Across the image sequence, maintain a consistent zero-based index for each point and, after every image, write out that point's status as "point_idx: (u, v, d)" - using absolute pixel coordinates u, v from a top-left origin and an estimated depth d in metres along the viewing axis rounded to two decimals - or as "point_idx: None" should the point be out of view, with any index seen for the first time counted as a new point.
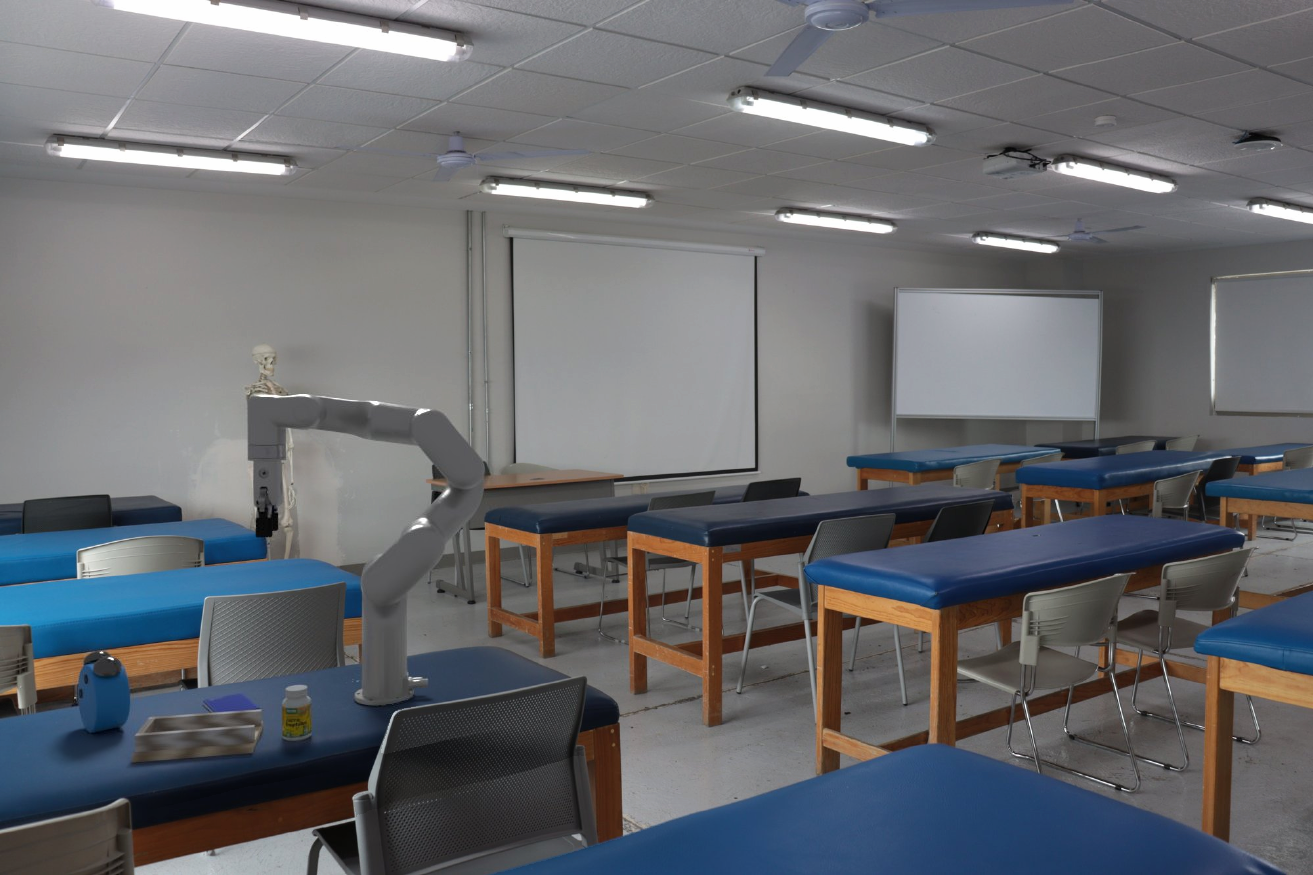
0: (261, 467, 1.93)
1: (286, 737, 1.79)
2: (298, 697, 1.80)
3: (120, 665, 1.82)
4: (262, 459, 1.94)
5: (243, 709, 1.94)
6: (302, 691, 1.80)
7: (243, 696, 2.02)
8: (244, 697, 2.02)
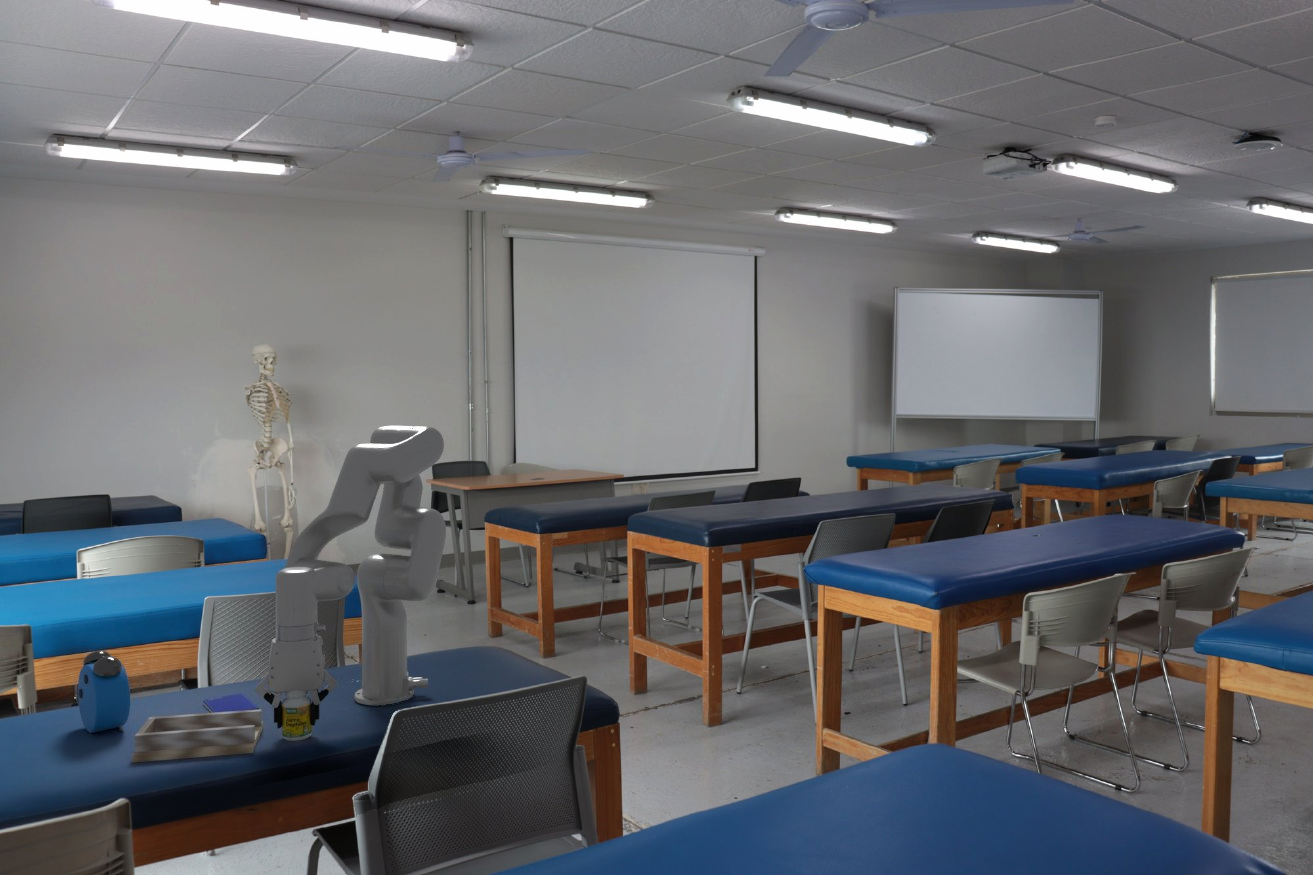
0: (321, 644, 1.82)
1: (286, 737, 1.79)
2: (298, 697, 1.80)
3: (120, 665, 1.82)
4: (316, 636, 1.81)
5: (242, 709, 1.94)
6: (302, 691, 1.80)
7: (243, 696, 2.03)
8: (244, 697, 2.02)
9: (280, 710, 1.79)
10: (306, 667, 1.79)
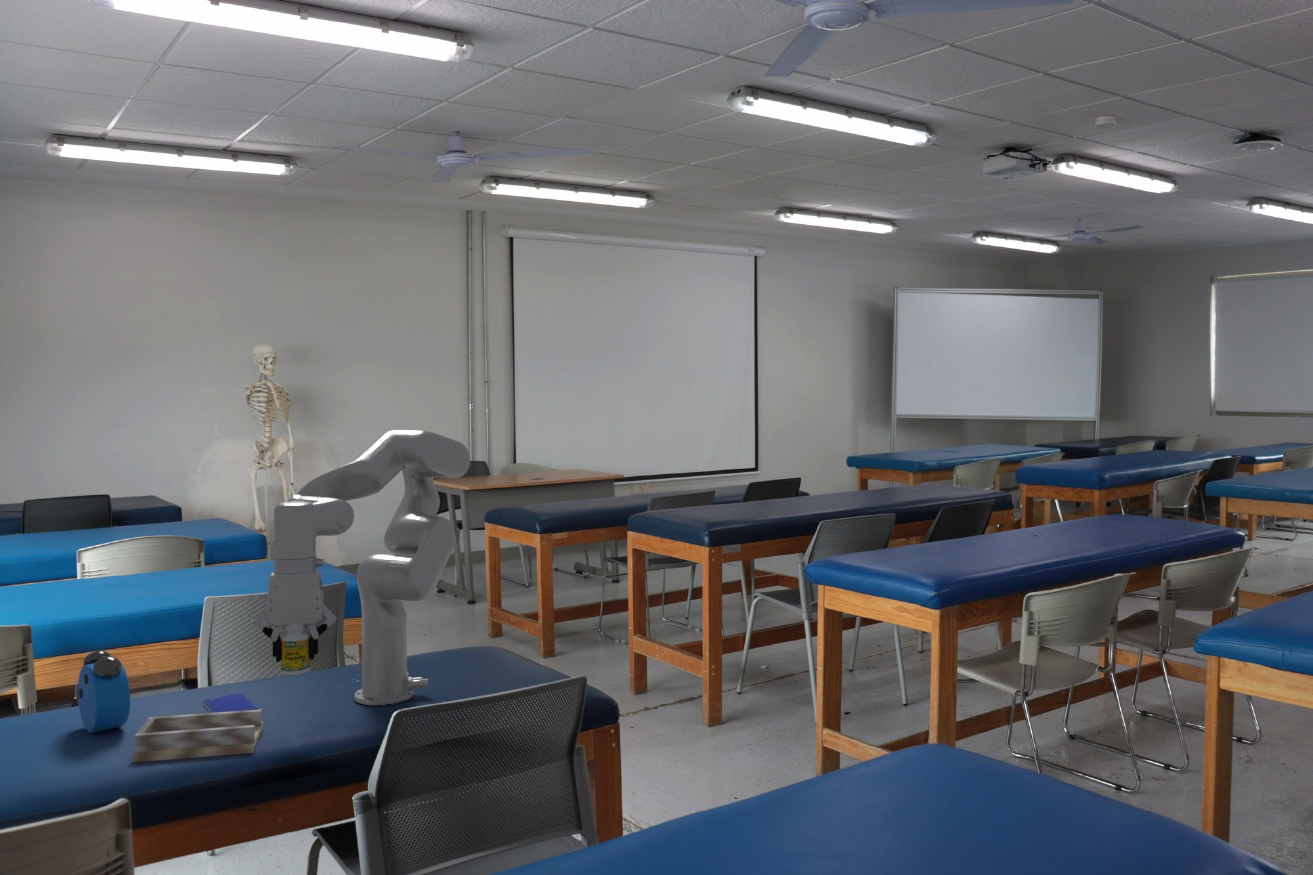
0: (320, 579, 1.81)
1: (285, 671, 1.79)
2: (297, 631, 1.79)
3: (120, 665, 1.82)
4: (314, 571, 1.81)
5: (241, 709, 1.94)
6: (301, 625, 1.79)
7: (243, 696, 2.03)
8: (244, 697, 2.02)
9: (279, 644, 1.79)
10: (305, 601, 1.79)
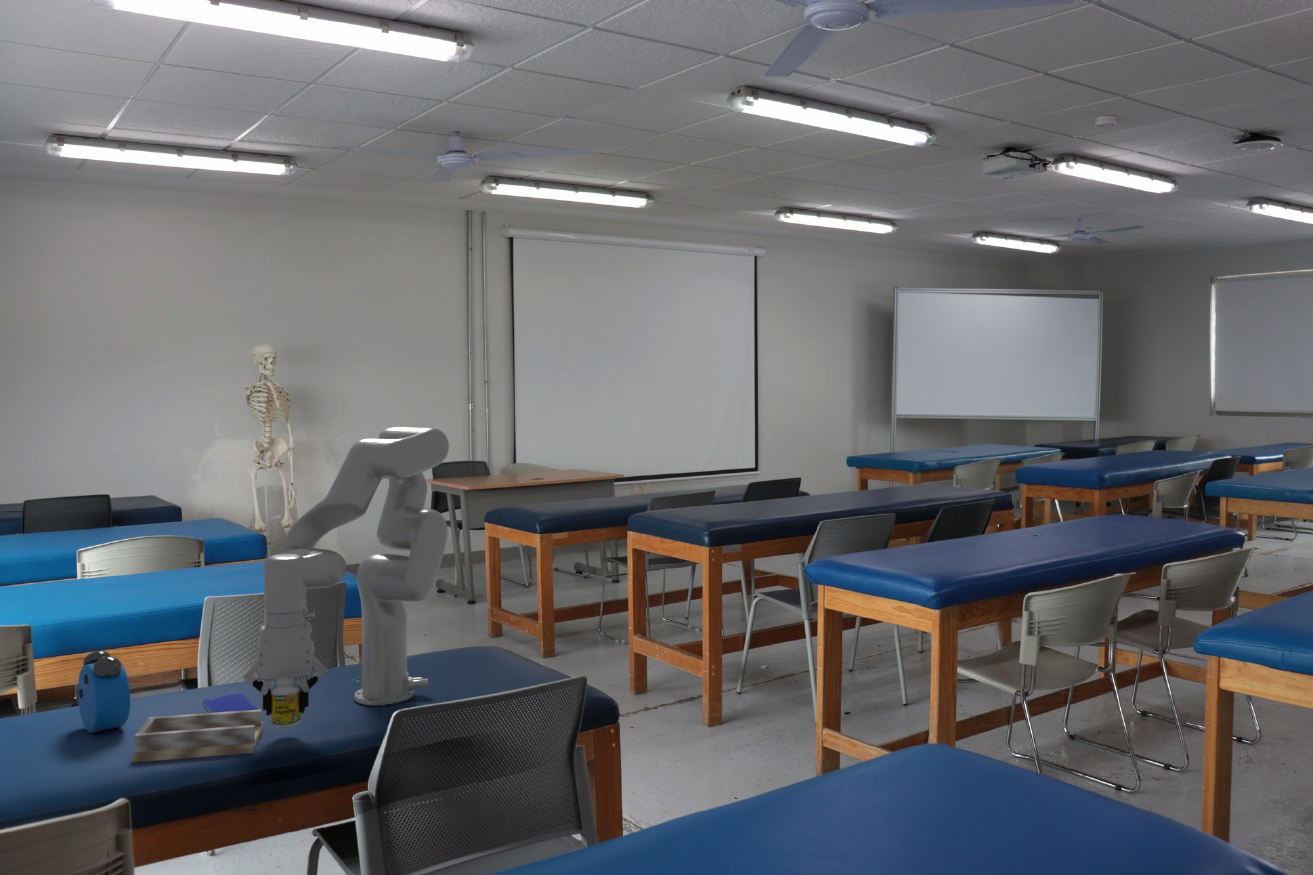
0: (310, 632, 1.81)
1: (275, 724, 1.78)
2: (287, 684, 1.79)
3: (120, 665, 1.82)
4: None
5: (240, 709, 1.94)
6: (291, 678, 1.79)
7: (243, 696, 2.03)
8: (243, 697, 2.02)
9: (269, 697, 1.79)
10: (295, 654, 1.79)
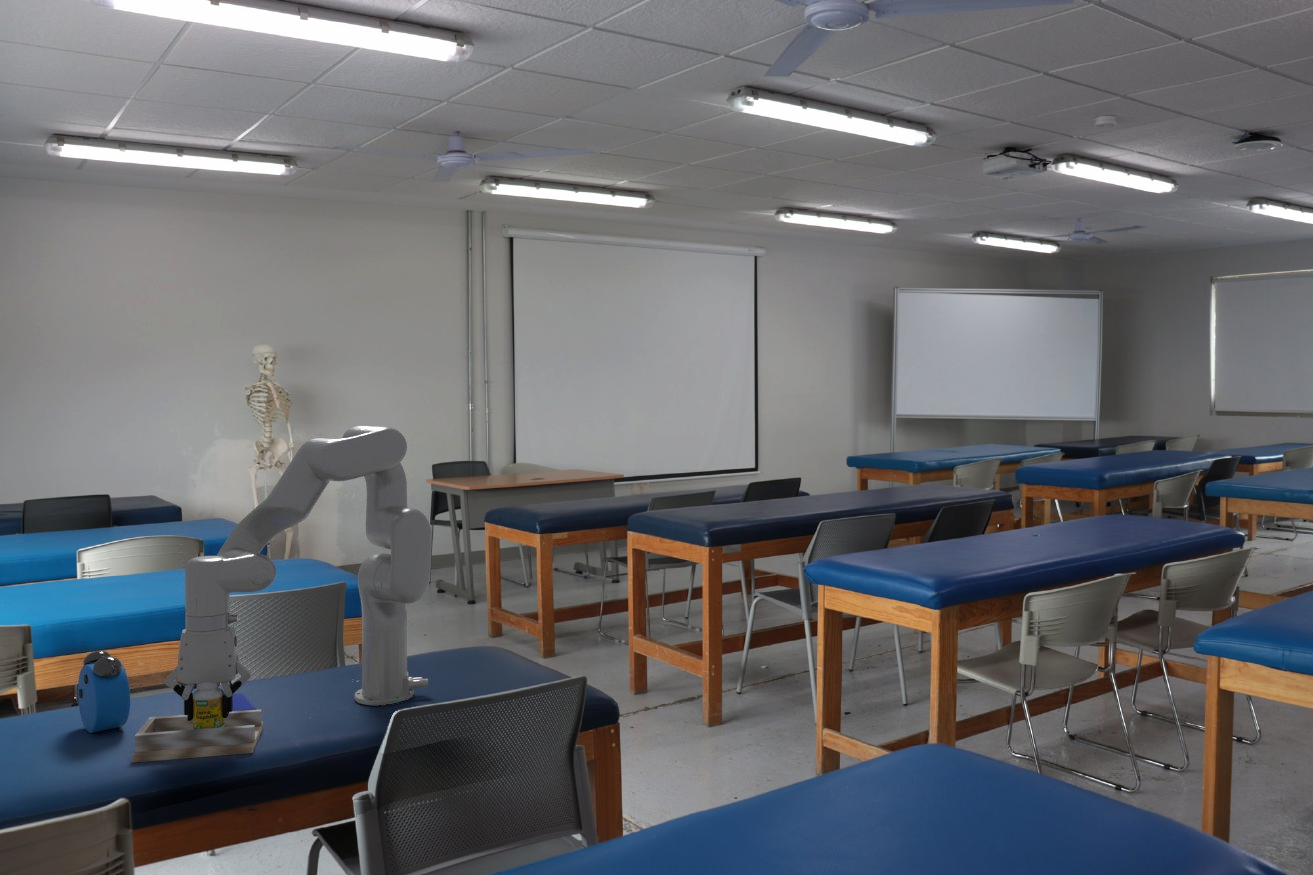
0: (233, 635, 1.77)
1: None
2: (209, 689, 1.75)
3: (120, 665, 1.82)
4: (228, 627, 1.77)
5: (239, 709, 1.94)
6: (213, 683, 1.76)
7: (242, 696, 2.03)
8: (243, 697, 2.02)
9: (190, 702, 1.75)
10: (217, 658, 1.75)
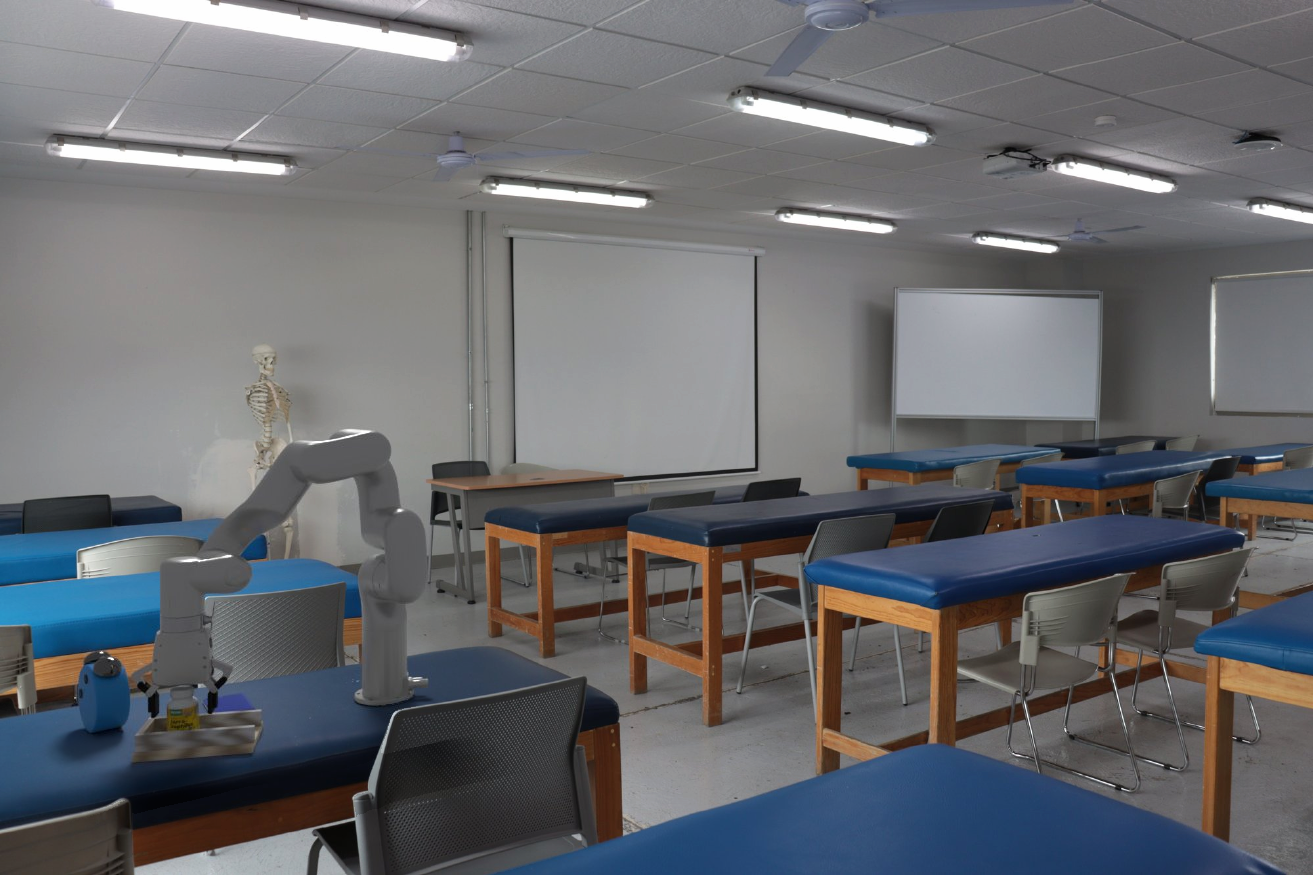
0: (209, 636, 1.76)
1: None
2: (183, 698, 1.74)
3: (120, 665, 1.82)
4: (203, 628, 1.76)
5: (238, 709, 1.94)
6: (187, 692, 1.75)
7: (242, 696, 2.03)
8: (243, 697, 2.02)
9: (154, 699, 1.73)
10: (191, 660, 1.74)
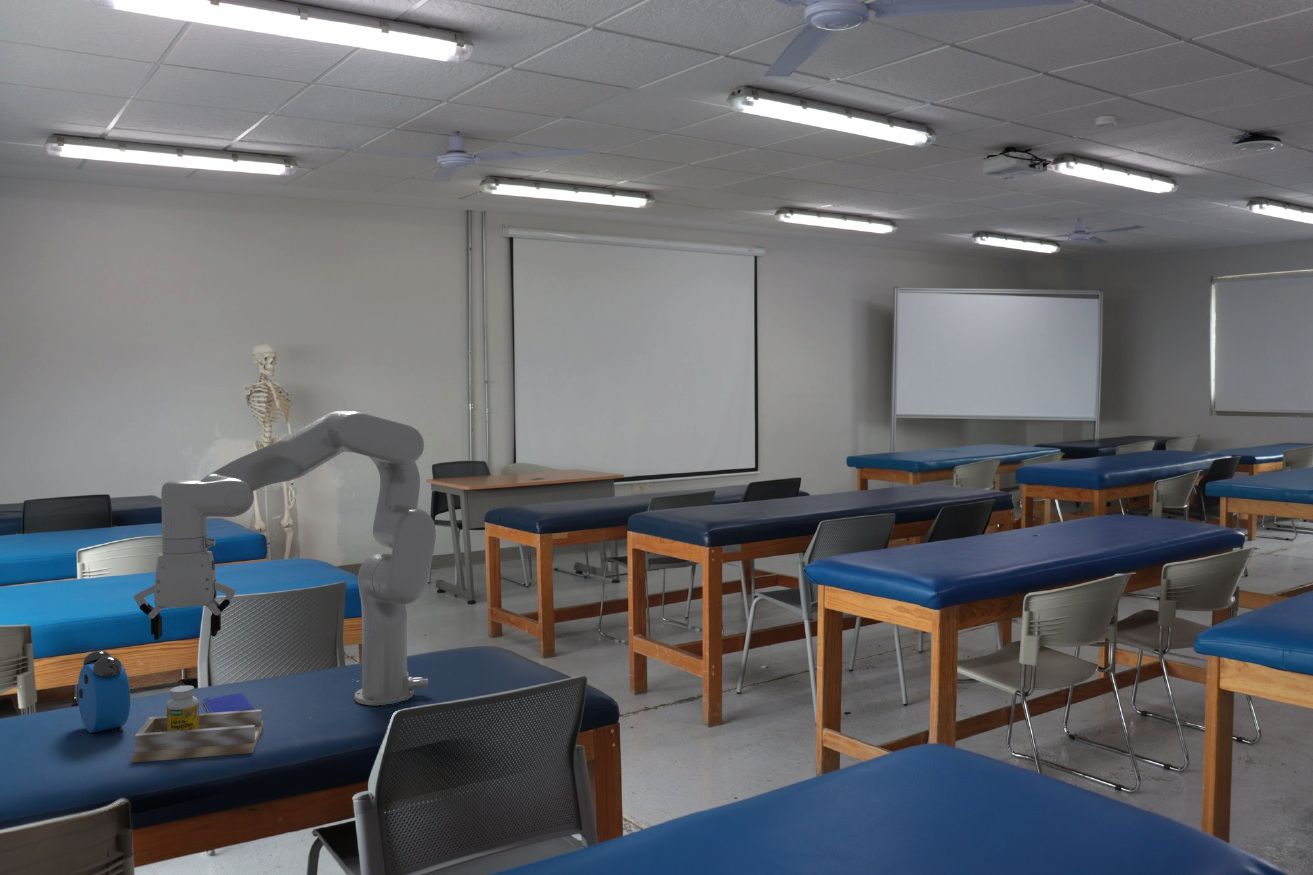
0: (211, 559, 1.76)
1: None
2: (183, 698, 1.74)
3: (120, 665, 1.82)
4: (205, 551, 1.76)
5: (237, 709, 1.94)
6: (188, 692, 1.75)
7: (242, 696, 2.03)
8: (243, 697, 2.02)
9: (157, 621, 1.74)
10: (194, 581, 1.74)
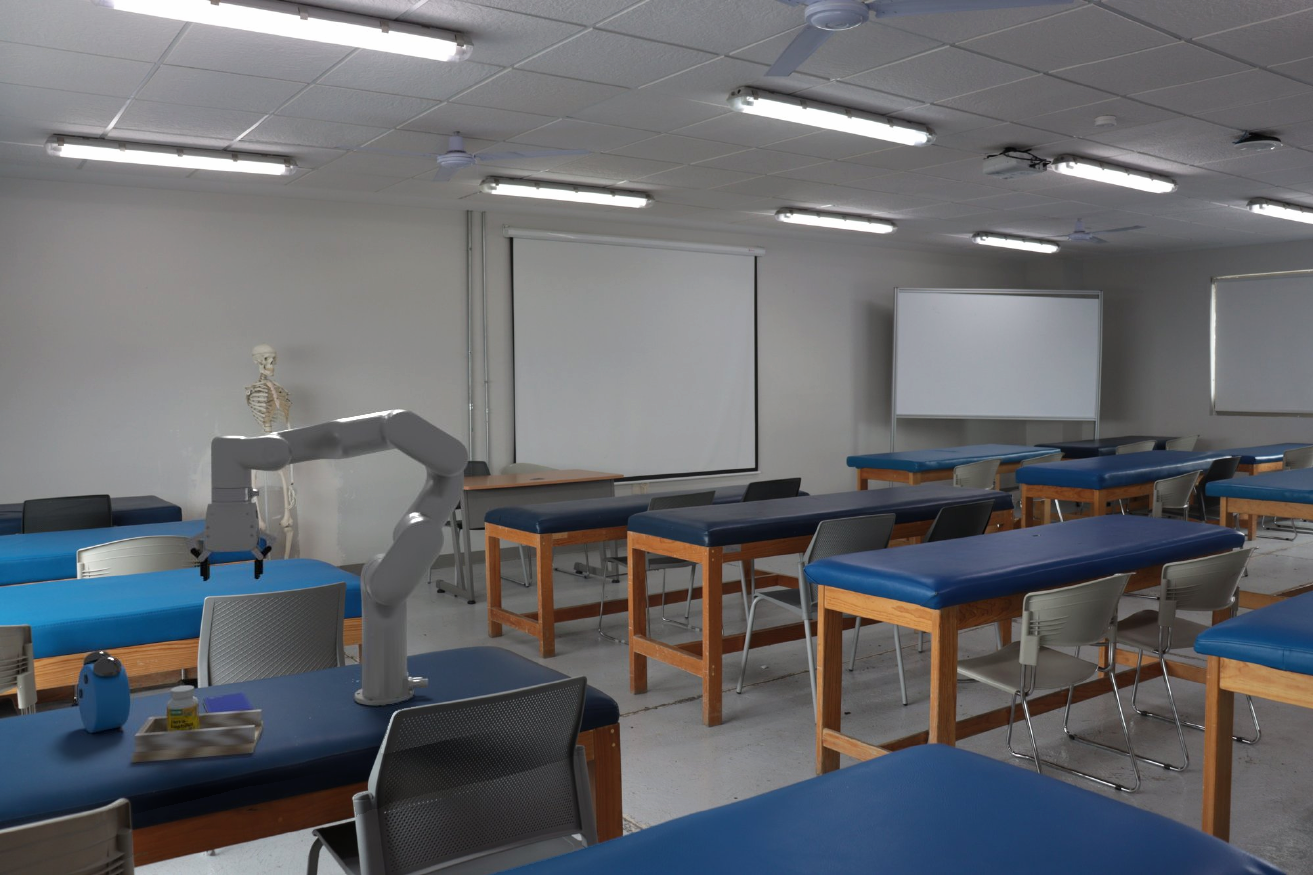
0: (255, 508, 1.92)
1: None
2: (184, 698, 1.74)
3: (120, 665, 1.82)
4: (250, 501, 1.92)
5: (236, 709, 1.94)
6: (188, 692, 1.75)
7: (242, 696, 2.03)
8: (243, 697, 2.02)
9: (206, 564, 1.89)
10: (240, 528, 1.90)
